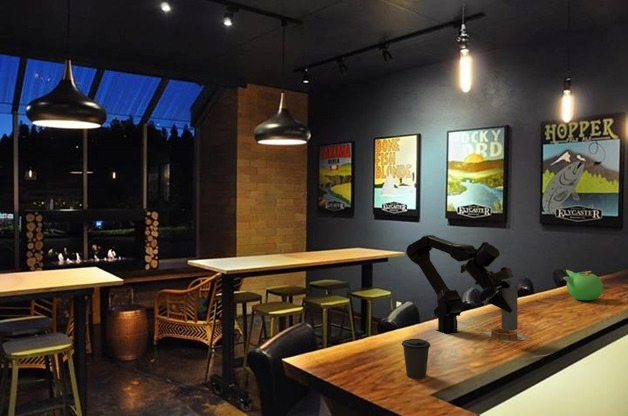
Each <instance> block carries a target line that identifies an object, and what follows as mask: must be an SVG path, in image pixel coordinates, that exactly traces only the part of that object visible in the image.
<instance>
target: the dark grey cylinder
mask: <svg viewBox="0 0 628 416" xmlns="http://www.w3.org/2000/svg"><path fill="white" fill-rule="evenodd" d="M501 290H502V297H503V298H504V300H505V301H506V302H507V304H508V305H509V307H510V308H511V310H512V312H511V313H509V312H507V311H505V310H503V309H501V308H500V311H501V328H503V329H506V330H515V331H518V321H519V320H518V317H519V315H518V313H519V311H518V310H519V309H518V306H519V305H518V304H519V303H518V295H519V294H518V292H519V291H518V289H517V288H512V287H511V288H503V289H501Z"/></svg>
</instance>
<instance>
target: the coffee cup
mask: <svg viewBox="0 0 628 416" xmlns="http://www.w3.org/2000/svg"><path fill="white" fill-rule="evenodd" d="M401 346H402V347H403V354H404V364H405V370H406V371H405V372H406V374H405V375H406V377H408V378H409V379H413V380H422V379H425V378H426V377H427V369H428V357H429V350H430V347H431V343H430V342H429V341H427V340H424V339H421V338H409V339H404V340H402V342H401Z"/></svg>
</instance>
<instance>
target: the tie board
mask: <svg viewBox="0 0 628 416" xmlns="http://www.w3.org/2000/svg"><path fill="white" fill-rule="evenodd" d="M490 330H491V331H486V332H480V333H478V334H479V335H482V336H485V337H487V338H490V339H493V340H495V341H496V340H497V341H499V342H503V343H505V344H506V343H512V342H519V341H524V340H529V339H532V336H528V335H524V334H521V333H518V330H506V329H503V328H502V327H497V328H491V329H490Z"/></svg>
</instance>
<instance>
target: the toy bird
mask: <svg viewBox="0 0 628 416" xmlns="http://www.w3.org/2000/svg"><path fill="white" fill-rule="evenodd" d="M592 271H593V270H589V271H580V272H574V271H571V270H570V269H566V270H565V272H566V273H567V275H568V276H564V277H563V280H564V281H566V288H567V289H566V290H567V292H568V293H569V295H570V296H571V297H572V298H574V299H576V300H580V301H584V302H589V301H594V300H596V299H598V298H600V297H601V296H602V295H603V291H604V285H603V282H602V280H601V279H600V277H599V276H597V275H596V274H595V273H592Z"/></svg>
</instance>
